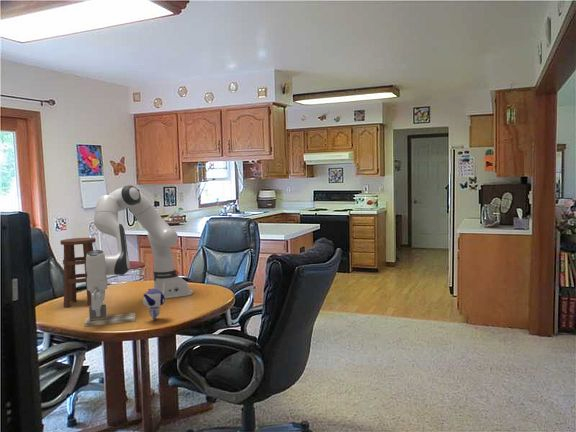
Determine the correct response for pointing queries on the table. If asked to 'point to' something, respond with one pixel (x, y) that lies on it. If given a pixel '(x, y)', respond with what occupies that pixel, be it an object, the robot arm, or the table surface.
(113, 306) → the table surface
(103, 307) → the block
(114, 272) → the robot arm
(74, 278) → the stool
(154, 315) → the toy
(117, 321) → the board
